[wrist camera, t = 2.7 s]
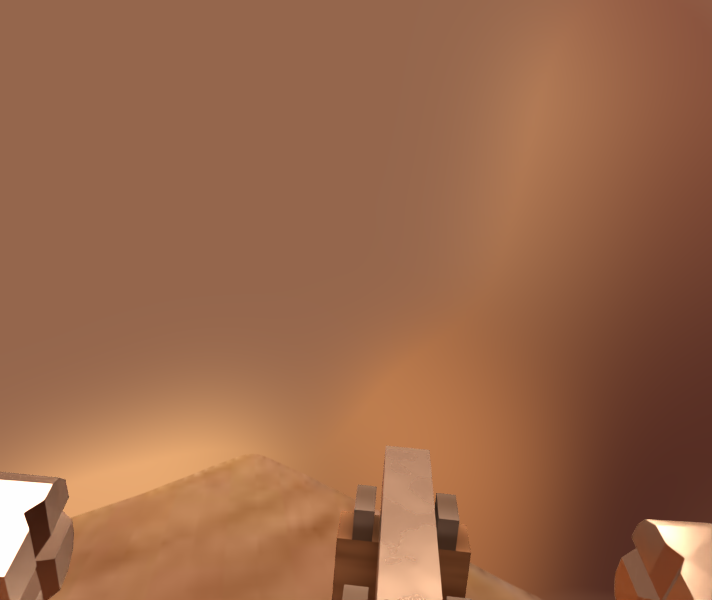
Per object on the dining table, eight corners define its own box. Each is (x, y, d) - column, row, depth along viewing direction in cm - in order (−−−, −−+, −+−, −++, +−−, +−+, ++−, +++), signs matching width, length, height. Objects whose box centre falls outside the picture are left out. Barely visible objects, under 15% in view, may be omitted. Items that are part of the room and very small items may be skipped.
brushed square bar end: (451, 898, 21) (462, 822, 20) (356, 885, 21) (364, 809, 20) (425, 489, 46) (429, 450, 46) (382, 485, 46) (385, 445, 46)
